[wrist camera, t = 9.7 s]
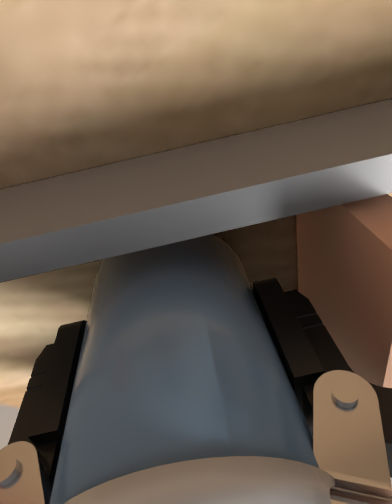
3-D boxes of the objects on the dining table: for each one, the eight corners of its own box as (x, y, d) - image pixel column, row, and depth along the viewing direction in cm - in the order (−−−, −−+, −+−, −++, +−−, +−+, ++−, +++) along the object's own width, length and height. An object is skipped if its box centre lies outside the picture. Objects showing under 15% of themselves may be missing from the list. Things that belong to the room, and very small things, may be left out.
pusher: (294, 162, 12) (407, 264, 7) (329, 154, 12) (469, 250, 7) (298, 307, 15) (371, 441, 10) (324, 301, 15) (410, 433, 10)
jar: (62, 244, 11) (-70, 588, 4) (240, 204, 11) (391, 483, 4) (119, 359, 14) (95, 655, 7) (255, 328, 14) (354, 597, 7)
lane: (-28, 195, 11) (-103, 267, 8) (623, 45, 11) (831, 52, 8) (82, 373, 16) (66, 461, 13) (520, 273, 16) (617, 336, 13)
